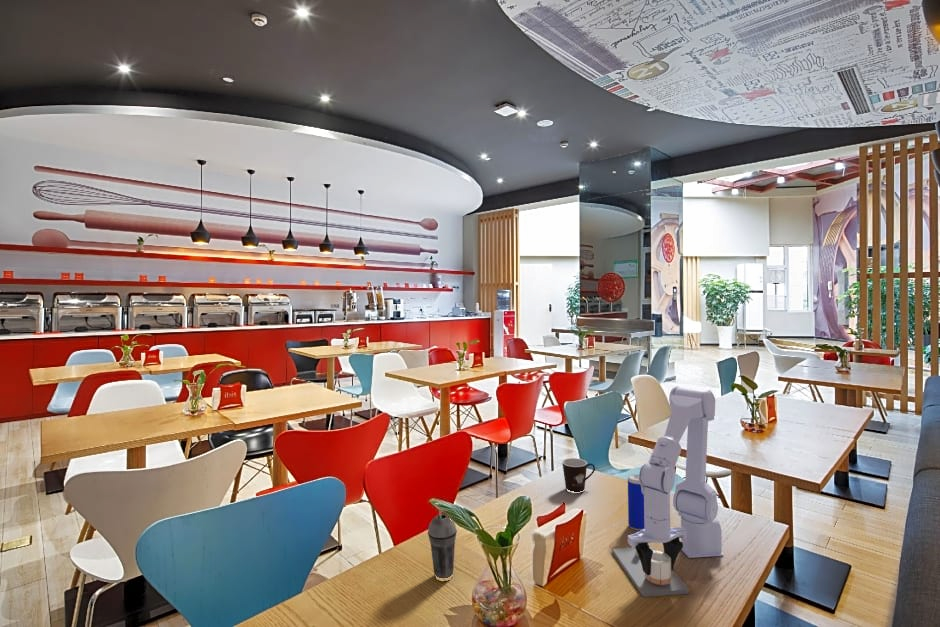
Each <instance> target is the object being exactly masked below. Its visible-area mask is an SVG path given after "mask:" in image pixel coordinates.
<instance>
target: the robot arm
mask: <svg viewBox="0 0 940 627" xmlns="http://www.w3.org/2000/svg"><path fill="white" fill-rule="evenodd" d="M668 399H669V400H668V402H669V409H670V410H671V412H670V415H669V419H668V423H667V425H666V426H667V427H666V429H665V433H664V436H661V437H659V438H657V441H655V442H656V443H655V445H654V448H653V449H652V453H651V455H650V457H649V460H648V462H647V463H643V464H642V465H641V466H640V470H639V473H638V475H639V483H640V485H641V491H642V494H644V524H645V529H643V530H640V531H639V530H638V531H637V532H635V533H633V534H628V535H627V544H628V545H629V546H630V547H635V549H636V551H637V553H638V555H639V558H640V561H641V564H642V568H643V571H644V572H645V573H646V574H647V575H650V574H651V558H652V554H653V551H652V550H651V549H650V548H649V546H650V545H649V544H651V543H653V544H654V543H655V544H658V543H659V544H662V546H663V547H662V548H663V552H664V553H666V554H667V555H668V556H670V557H671V571H674V567H675V563H676V560H677V558H678V556H679V553H680V552H681V551H682V552H683V553H684V554H685V555H686V556H687V557H688V558H690V559H695V558H708V557H709V558H710V557H722V556H724V552H722V549H723V548H722V547H723V545H722V544H723V542H722V541H723V540H722V539H723V538H722V535H723V534H722V527H721V524H720V521H719V520H718V518H717V516H718V513H719V512H718V509H719V504H718V500H717V491H716V490H715V489H714V488H713V487H712V486H710V483H709V484H708V482H707V481H706V479H707V478H706V476H707V475H706V474H707V473H706V472H707V457H708V456H707V453H708V450H707V449H708V431H709V430H708V429H709V422H710V421H715V416H716V415H715V414H716V397H715V395H714V393H713V391H712V390H710V389H707V390H705V389H697V388H691V387H690V388H689V387H682V386H681V387H680V386H678V385H677V386H676V385H675V386H673V387H672V388H671V390H670V392H669V397H668ZM686 430H687V435H686V457H685V458H686V459H685V476H684V477H685V478H684V479H683V480H681V481H679V482H677V484H676V485H675V478H676V469H675V467H676V465H677V462H678V459H679V457H680V455H681V452H682V446H681V444H680V441H681V439H682V437H683V435H684V433H685V431H686ZM674 485H675V491H674V493H673V498H672V505H673V507H674V510H675V511H676V512H677V515H678V516H679V517H680V526H679V527H677V526H676V527H671V506H670V505H671V499H670V498H671V497H670V496H671V491H672V490H673V488H674Z"/></svg>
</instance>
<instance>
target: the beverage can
mask: <svg viewBox="0 0 940 627" xmlns="http://www.w3.org/2000/svg"><path fill="white" fill-rule="evenodd" d="M627 509H628V512H627V513H628V514H627V515H628V516H627V518H628V525H629V527H630V528H631V529H632V530H634V529H635V531H639V530H640V531H641V530H643V529H645V524H644V494H642V491H641V485H640V483H639V474H635V473H634V474H630V475H628V478H627Z"/></svg>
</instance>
